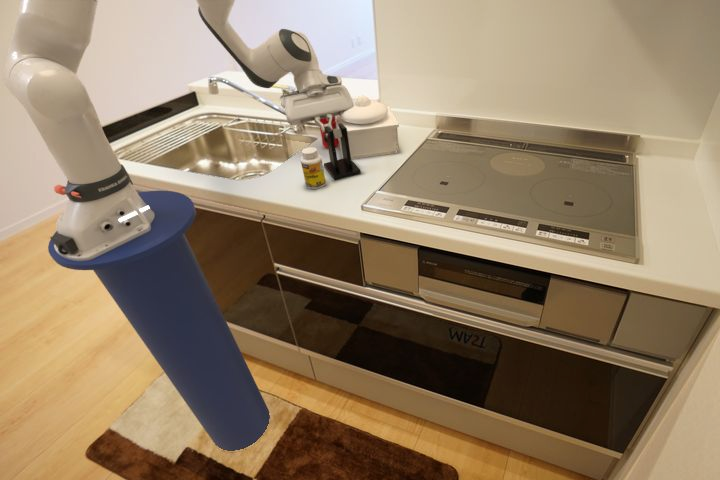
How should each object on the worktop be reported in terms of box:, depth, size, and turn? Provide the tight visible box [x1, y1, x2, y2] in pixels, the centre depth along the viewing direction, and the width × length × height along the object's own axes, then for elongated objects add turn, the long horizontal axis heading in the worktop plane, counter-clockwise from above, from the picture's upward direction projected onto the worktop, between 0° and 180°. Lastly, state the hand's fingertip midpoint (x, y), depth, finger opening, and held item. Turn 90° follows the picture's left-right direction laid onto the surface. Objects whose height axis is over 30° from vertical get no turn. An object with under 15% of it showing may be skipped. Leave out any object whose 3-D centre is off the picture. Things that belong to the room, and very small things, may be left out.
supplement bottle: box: [300, 146, 327, 190], centre depth 111 cm, size 6×6×10 cm
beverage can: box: [319, 116, 340, 150], centre depth 131 cm, size 5×5×12 cm
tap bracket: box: [323, 123, 362, 181], centre depth 117 cm, size 10×8×13 cm
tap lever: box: [324, 128, 342, 143], centre depth 118 cm, size 13×3×3 cm, turn 26°
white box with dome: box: [335, 94, 400, 160], centre depth 128 cm, size 18×18×16 cm
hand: (327, 131), depth 122 cm, fingers closed, pressing on tap lever
